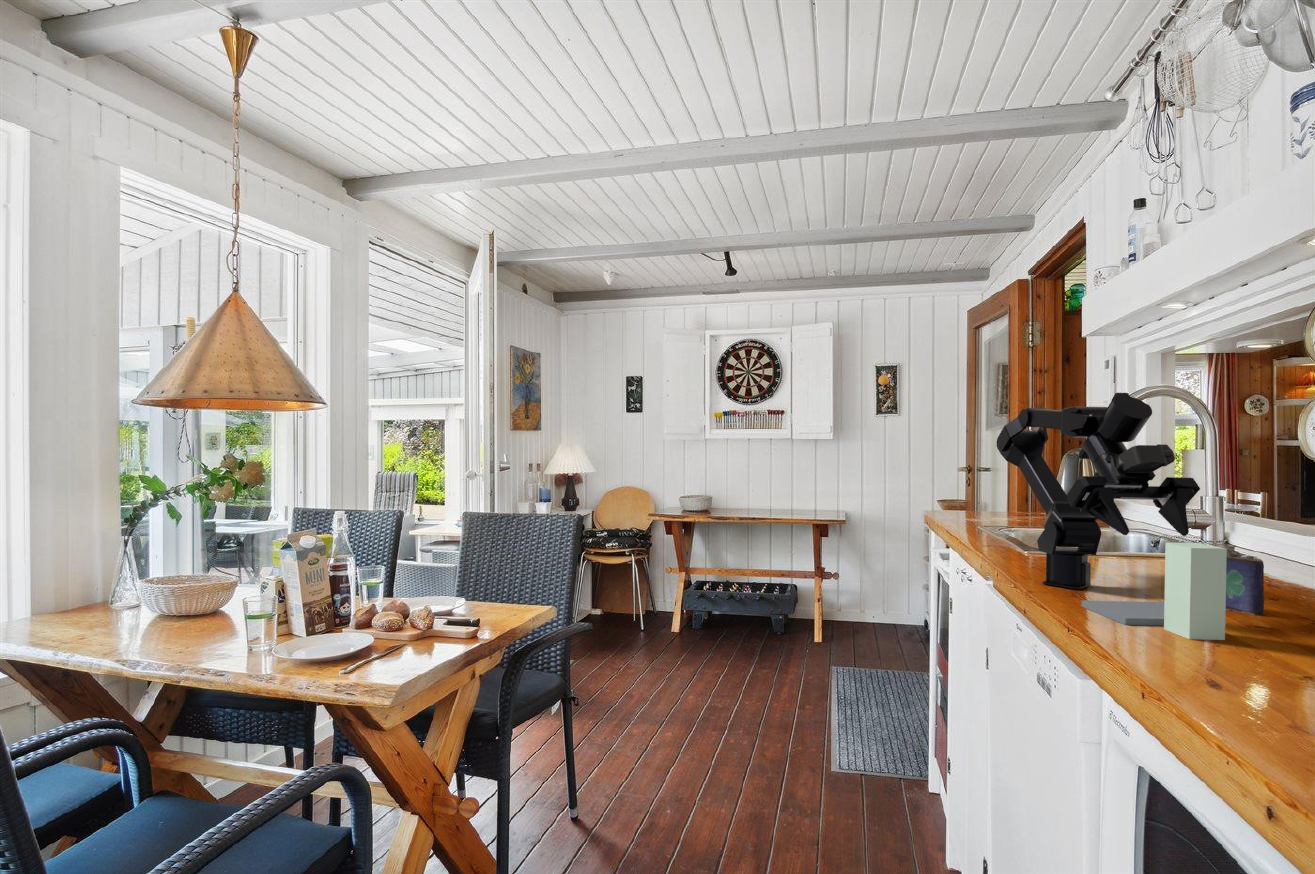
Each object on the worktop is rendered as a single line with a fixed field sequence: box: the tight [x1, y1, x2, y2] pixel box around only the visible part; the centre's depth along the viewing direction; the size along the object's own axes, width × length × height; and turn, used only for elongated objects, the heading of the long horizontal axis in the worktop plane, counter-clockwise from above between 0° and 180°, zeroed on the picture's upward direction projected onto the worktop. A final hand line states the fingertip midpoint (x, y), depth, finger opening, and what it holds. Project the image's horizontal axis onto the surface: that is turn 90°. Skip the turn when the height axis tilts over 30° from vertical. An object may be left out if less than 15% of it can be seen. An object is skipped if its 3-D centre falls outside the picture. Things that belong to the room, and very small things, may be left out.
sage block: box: [1163, 541, 1227, 641], centre depth 100 cm, size 5×5×13 cm
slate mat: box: [1081, 600, 1164, 626], centre depth 110 cm, size 11×14×1 cm
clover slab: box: [1222, 544, 1265, 617], centre depth 115 cm, size 9×3×11 cm, turn 28°
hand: (1156, 533), depth 108 cm, fingers open, 9 cm apart
